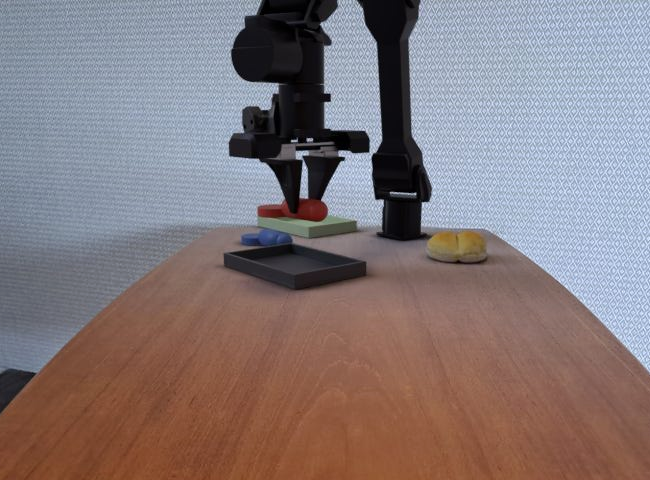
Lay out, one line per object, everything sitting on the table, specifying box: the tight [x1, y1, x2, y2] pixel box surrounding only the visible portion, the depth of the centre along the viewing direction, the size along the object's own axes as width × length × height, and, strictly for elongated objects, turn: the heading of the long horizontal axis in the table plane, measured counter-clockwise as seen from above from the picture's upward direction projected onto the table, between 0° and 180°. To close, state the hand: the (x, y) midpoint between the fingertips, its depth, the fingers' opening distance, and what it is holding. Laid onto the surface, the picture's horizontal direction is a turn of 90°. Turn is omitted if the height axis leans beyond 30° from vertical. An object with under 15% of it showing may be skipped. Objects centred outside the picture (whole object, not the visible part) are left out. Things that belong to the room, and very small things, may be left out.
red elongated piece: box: [256, 197, 329, 222], centre depth 90 cm, size 12×5×3 cm, turn 48°
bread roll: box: [426, 230, 488, 264], centre depth 101 cm, size 8×9×4 cm
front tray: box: [222, 242, 367, 290], centre depth 94 cm, size 17×12×2 cm
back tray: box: [256, 214, 358, 239], centre depth 125 cm, size 16×11×2 cm
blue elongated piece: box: [240, 228, 294, 247], centre depth 109 cm, size 12×5×3 cm, turn 40°
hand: (303, 212), depth 89 cm, fingers closed on red elongated piece, 3 cm apart
